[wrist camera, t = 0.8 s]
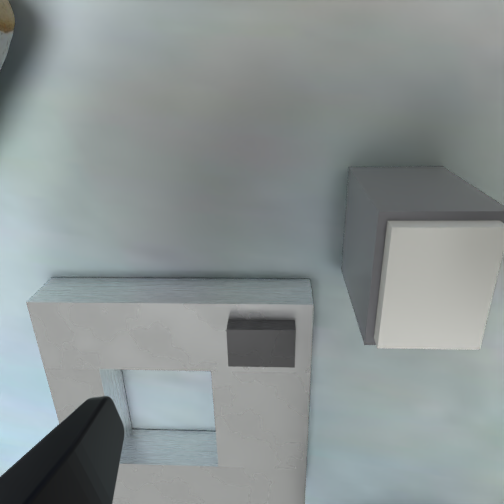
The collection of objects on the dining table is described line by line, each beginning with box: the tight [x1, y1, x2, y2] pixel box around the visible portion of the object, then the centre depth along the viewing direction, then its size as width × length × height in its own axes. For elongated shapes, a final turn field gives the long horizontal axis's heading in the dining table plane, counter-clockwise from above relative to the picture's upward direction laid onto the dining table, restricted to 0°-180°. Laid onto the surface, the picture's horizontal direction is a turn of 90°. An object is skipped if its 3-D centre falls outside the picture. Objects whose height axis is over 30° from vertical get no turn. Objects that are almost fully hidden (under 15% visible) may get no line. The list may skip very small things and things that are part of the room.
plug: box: [341, 166, 504, 350], centre depth 17 cm, size 5×4×7 cm
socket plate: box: [26, 278, 314, 504], centre depth 23 cm, size 14×13×3 cm
